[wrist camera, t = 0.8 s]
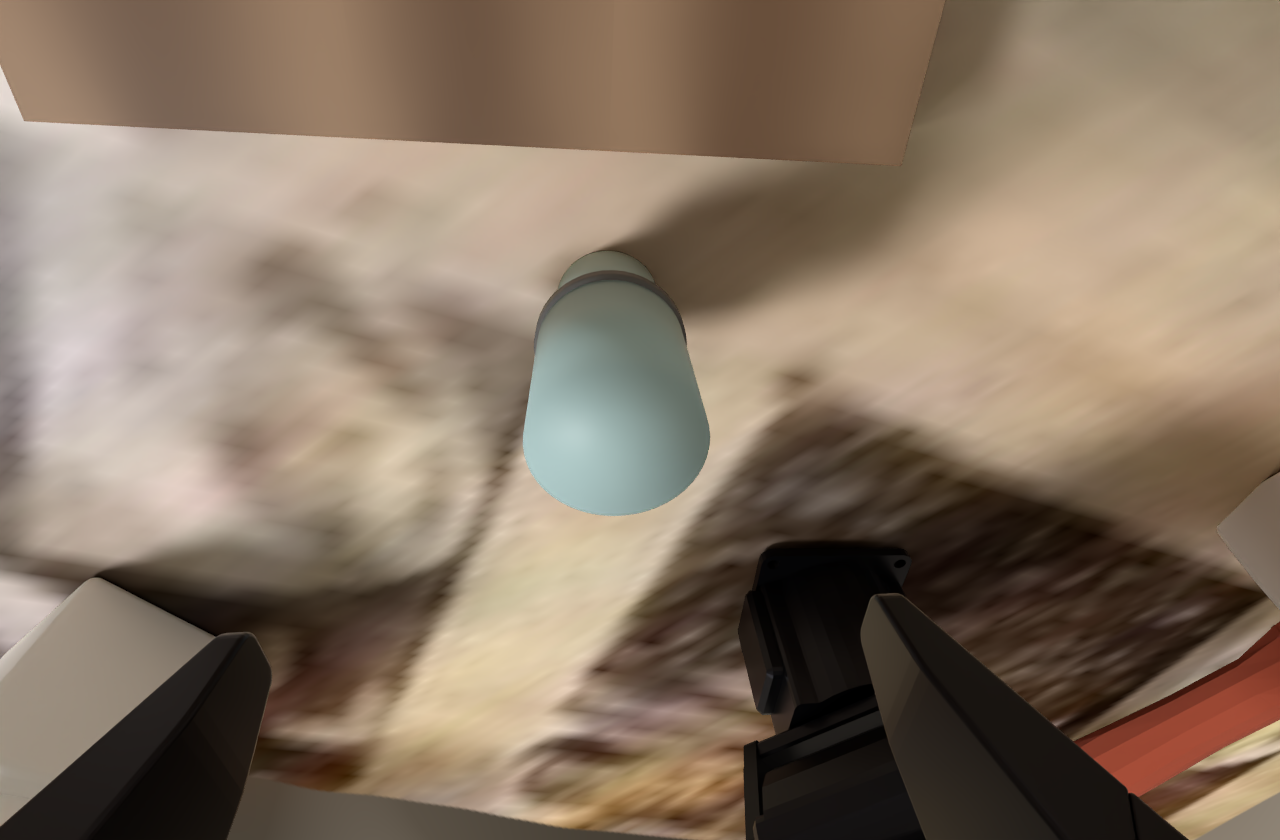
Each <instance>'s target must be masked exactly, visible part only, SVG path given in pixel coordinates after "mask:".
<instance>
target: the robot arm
mask: <svg viewBox="0 0 1280 840" xmlns="http://www.w3.org/2000/svg"><path fill="white" fill-rule="evenodd" d="M773 560H775V561H773ZM770 561H773V562H770ZM911 562H912V560H911V558H910V556H909V555H908V553H907V551H906V550H904V549H771V550H767V551H765V552H763V553H762V554H761V556H760V558H759V562H758V566H757V571H756V575H755V580H754V584H753V589H752V591H749V592H748V593H747V595H746V596H745V601H744V605H743V610H742V614H741V619H740V623H739V628H738V635H739V639H740V644H741V649H742V653H743V656H744V660H745V664H746V668H747V672H748V677H749V681H750V685H751V689H752V693H753V698H754V702H755V706H756V709H757V710H758V711H759V712H760V713H761V714H762V715H771V718H772V722H773V726H774V729H775V733H776V735H775V736H772V737H770V738H768V739H765V740H763V741H760V742H758V741H757V740H756V741H754V742H751V743H749V744H747V745H744V798H745V826H746V840H1188V839H1187V838H1186V837H1185V836H1183V835H1182V834H1181V833H1180V832H1179V831H1177V830H1176V829H1175V828H1174V827H1173V826H1171V825H1170V824H1169V823H1168V822H1167V821H1165V820H1164V819H1163V818H1162V817H1161V816H1160V815H1158V814H1157V813H1156V812H1155V811H1154V810H1153V809H1151V808H1150V807H1149V806H1148V805H1147V804H1146V803H1144V802H1143V801H1142V800H1141V799H1140V798H1139V797H1137V796H1136V795H1135V794H1134V793H1128V789H1127V788H1126V787H1125V786H1124V785H1123V784H1122V783H1121V782H1120V781H1118V780H1117V779H1116V778H1115V777H1114V776H1113V775H1112V774H1110V773H1109V772H1108V771H1107V770H1106V769H1105V768H1103V767H1102V766H1101V765H1100V764H1099V763H1098V762H1096V761H1095V760H1094V759H1093V758H1092V757H1091V756H1089V755H1088V754H1087V753H1086V752H1085V751H1084V750H1082V749H1081V748H1080V747H1079V746H1078V745H1077V744H1075V743H1074V742H1073V741H1072V740H1071V739H1070V738H1068V737H1067V736H1066V735H1065V734H1064V733H1063V732H1062V731H1060V730H1059V729H1058V728H1057V727H1056V726H1055V725H1053V724H1052V723H1051V722H1050V721H1049V720H1048V719H1046V718H1045V717H1044V716H1043V715H1042V714H1041V713H1039V712H1038V711H1037V710H1036V709H1035V708H1034V707H1032V706H1031V705H1030V704H1029V703H1028V702H1027V701H1025V700H1024V699H1023V698H1022V697H1021V696H1020V695H1018V694H1017V693H1016V692H1015V691H1014V690H1013V689H1011V688H1010V687H1009V686H1008V685H1007V684H1006V683H1005V682H1003V681H1002V680H1001V679H1000V678H999V677H998V676H996V675H995V674H994V673H993V672H992V671H991V670H989V669H988V668H987V667H986V666H985V665H984V664H982V663H981V662H980V661H979V660H978V659H977V658H975V657H974V656H973V655H972V654H971V653H970V652H968V651H967V650H966V649H965V648H964V647H963V646H961V645H960V644H959V643H958V642H957V641H956V640H955V639H953V638H952V637H951V636H950V635H949V634H948V633H946V632H945V631H944V630H943V629H942V628H941V627H939V626H938V625H937V624H936V623H935V622H934V621H932V620H931V619H930V618H929V617H928V616H927V615H925V614H924V613H923V612H922V611H921V610H920V609H918V608H917V607H916V606H915V605H914V604H913V603H911V602H910V601H909V600H908V598H907V597H906V595H905V593H904V591H903V589H902V585H903V583H904V580H905V578H906V575H907V573H908V570H909V568H910V566H911ZM271 682H272V669H271V665H270V663H269V661H268V659H267V657H266V655H265V653H264V651H263V649H262V648H261V646H260V644H259V642H258V640H257V638H256V636H255V635H254V634H252V633H250V632H236V633H225V634H221V635H219V636H217V637H215V638H214V639H213V640H211V641H210V642H209V643H208V644H207V645H206V646H205V647H204V648H202V649H201V650H200V651H199V652H198V653H197V654H196V655H194V656H193V657H192V658H191V659H190V660H189V661H188V662H186V663H185V664H184V665H183V666H182V667H181V668H180V669H179V670H177V671H176V672H175V673H174V674H173V675H172V676H171V677H169V678H168V679H167V680H166V681H165V682H164V683H163V684H161V685H160V686H159V687H158V688H157V689H156V690H155V691H154V692H152V693H151V694H150V695H149V696H148V697H147V698H146V699H144V700H143V701H142V702H141V703H140V704H139V705H138V706H136V707H135V708H134V709H133V710H132V711H131V712H130V713H129V714H127V715H126V716H125V717H124V718H123V719H122V720H121V721H119V722H118V723H117V724H116V725H115V726H114V727H113V728H111V729H110V730H109V731H108V732H107V733H106V734H105V735H104V736H102V737H101V738H100V739H99V740H98V741H97V742H96V743H94V744H93V745H92V746H91V747H90V748H89V749H88V750H86V751H85V752H84V753H83V754H82V755H81V756H80V757H79V758H77V759H76V760H75V761H74V762H73V763H72V764H71V765H69V766H68V767H67V768H66V769H65V770H64V771H63V772H61V773H60V774H59V775H58V776H57V777H56V778H55V779H54V780H52V781H51V782H50V783H49V784H48V785H47V786H46V787H44V788H43V789H42V790H41V791H40V792H39V793H38V794H36V795H35V796H34V797H33V798H32V799H31V800H30V801H29V802H27V803H26V804H25V805H24V806H23V807H22V808H21V809H19V810H18V811H17V812H16V813H15V814H14V815H13V816H11V817H10V818H9V819H8V820H7V821H6V822H5V823H4V824H2V825H1V826H0V840H227V838H228V835H229V832H230V829H231V827H232V824H233V821H234V818H235V816H236V813H237V810H238V807H239V804H240V801H241V798H242V795H243V792H244V789H245V785H246V781H247V778H248V774H249V770H250V766H251V762H252V758H253V754H254V750H255V746H256V742H257V738H258V734H259V730H260V726H261V722H262V718H263V714H264V710H265V706H266V702H267V698H268V694H269V690H270V686H271Z"/></svg>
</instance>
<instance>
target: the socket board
mask: <svg viewBox="0 0 1280 840" xmlns="http://www.w3.org/2000/svg"><path fill="white" fill-rule="evenodd" d="M944 4H945V0H0V65H1V68H2V70H3V72H4V75H5V77H6V79H7V82H8V84H9V86H10V89H11V91H12V93H13V96H14V98H15V101H16V103H17V105H18V108H19V110H20V112H21V115H22V117H23V119H24V121H32V122H52V123H71V124H91V125H110V126H130V127H149V128H169V129H188V130H208V131H228V132H247V133H267V134H286V135H306V136H325V137H345V138H364V139H384V140H404V141H423V142H443V143H462V144H482V145H501V146H521V147H540V148H560V149H580V150H599V151H619V152H638V153H658V154H677V155H697V156H716V157H736V158H756V159H775V160H795V161H814V162H834V163H853V164H873V165H892V166H901V165H902V161H903V157H904V154H905V150H906V146H907V142H908V139H909V135H910V131H911V127H912V124H913V120H914V116H915V112H916V109H917V105H918V101H919V98H920V94H921V90H922V86H923V83H924V79H925V75H926V71H927V68H928V64H929V60H930V56H931V53H932V49H933V45H934V41H935V38H936V34H937V30H938V27H939V23H940V19H941V15H942V12H943V8H944Z"/></svg>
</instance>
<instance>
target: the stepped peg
mask: <svg viewBox="0 0 1280 840" xmlns="http://www.w3.org/2000/svg"><path fill="white" fill-rule="evenodd" d="M534 352H535V359H534V366H533V373H532V379H531V386H530V393H529V400H528V406H527V413H526V420H525V426H524V433H523V448H524V455H525V459H526V462H527V465H528V467H529V469H530V471H531V473H532V475H533V476H534V478H535V479H536V481H537V482H538V483H539V484H540V485H541V487H542V488H543V489H544V490H545V491H546V492H548V493H549V494H550V495H551V496H552V497H554V498H555V499H557V500H558V501H560V502H562V503H564V504H566V505H567V506H569V507H572V508H574V509H577V510H580V511H583V512H587V513H591V514H597V515H606V516H621V515H631V514H637V513H641V512H645V511H648V510H651V509H654V508H656V507H659V506H661V505H663V504H665V503H667V502H669V501H670V500H672V499H673V498H675V497H677V496H678V495H679V494H680V493H682V492H683V491H684V490H685V489H686V488H687V487H688V486H689V485H690V484H691V483H692V482H693V481H694V479H695V478H696V477H697V475H698V474H699V472H700V471H701V469H702V467H703V465H704V463H705V460H706V458H707V454H708V450H709V444H710V431H709V424H708V420H707V416H706V413H705V409H704V406H703V403H702V399H701V396H700V392H699V389H698V385H697V382H696V378H695V375H694V371H693V368H692V364H691V361H690V357H689V354H688V350H687V341H686V333H685V329H684V325H683V322H682V318H681V316H680V313H679V311H678V309H677V307H676V305H675V304H674V302H673V301H672V299H671V298H670V297H669V296H668V294H667V293H666V292H665V291H664V290H662V289H661V288H660V287H659V286H658V285H656V284H655V282H654V279H653V277H652V275H651V274H650V272H649V271H648V270H647V268H646V267H645V266H644V265H643V264H642V263H641V262H639V261H638V260H636V259H635V258H633V257H631V256H629V255H627V254H624V253H621V252H616V251H599V252H594V253H591V254H588V255H586V256H583V257H582V258H580V259H578V260H577V261H576V262H574V263H573V264H572V265H571V266H570V267H569V268H568V269H567V271H566V272H565V274H564V275H563V277H562V279H561V281H560V284H559V287H558V290H557V291H556V292H555V293H554V294H553V295H552V296H551V297H550V298H549V300H548V301H547V303H546V304H545V306H544V308H543V309H542V311H541V313H540V316H539V319H538V322H537V327H536V332H535V339H534Z"/></svg>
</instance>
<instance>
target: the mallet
mask: <svg viewBox="0 0 1280 840" xmlns="http://www.w3.org/2000/svg"><path fill="white" fill-rule="evenodd" d="M1217 533H1218V534H1219V535H1220V537H1221V538H1222V540H1223V541H1224V542H1225V544H1226V545H1227V547H1228V548H1229V549H1230V551H1231V552H1232V553H1233V554H1234V556H1235V557H1236V558H1237V559H1238V561H1239V562H1240V563H1241V565H1242V566H1243V567H1244V568H1245V570H1246V571H1247V572H1248V573H1249V575H1250V576H1251V577H1252V578H1253V580H1254V581H1255V582H1256V583H1257V585H1258V586H1259V587H1260V588H1261V589H1262V590H1263V591H1264V593H1265V594H1266V595H1267V596H1268V597H1269V598H1270V600H1271V601H1272V602H1273V603H1274V604H1275V605H1276V606H1277V608H1278V609H1279V610H1280V472H1279V473H1277V474H1276V475H1274V476H1272V477H1270V478H1269V479H1267V480H1265V481H1263V482H1262V483H1261V484H1260V485H1259V486H1258V487H1257V488H1256V489H1255V490H1253V491H1252V492H1251V493H1250V494H1249V495H1248V496H1247V497H1246V498H1245V499H1244V500H1243V501H1242V502H1241V503H1240V504H1239V505H1238V506H1237V507H1236V508H1235V509H1234V510H1233V511H1232V512H1231V513H1230V514H1229V515H1228V516H1227V517H1226V518H1225V519H1224V520H1223V521H1222V522H1221V523H1220V524H1219V525H1218V526H1217ZM1278 720H1280V622H1279V623H1277V624H1276V625H1274V626H1272V627H1271V629H1270V630H1269V631H1268V632H1267V633H1266V634H1265V635H1264V636H1263V637H1262V638H1261V639H1259V640H1258V641H1257V642H1256V643H1255V644H1254V645H1253V646H1252V647H1251V648H1250V649H1249V650H1247V651H1246V652H1245V653H1244V654H1243V655H1242V656H1241V657H1240V658H1239V659H1237V660H1235V661H1233V662H1232V663H1230V664H1228V665H1226V666H1224V667H1222V668H1220V669H1218V670H1217V671H1215V672H1213V673H1211V674H1209V675H1207V676H1205V677H1203V678H1202V679H1200V680H1198V681H1196V682H1194V683H1192V684H1190V685H1188V686H1187V687H1185V688H1183V689H1181V690H1179V691H1177V692H1175V693H1173V694H1172V695H1170V696H1168V697H1166V698H1164V699H1161V700H1159V701H1157V702H1155V703H1153V704H1151V705H1149V706H1147V707H1145V708H1143V709H1141V710H1139V711H1137V712H1134V713H1132V714H1130V715H1128V716H1126V717H1124V718H1122V719H1120V720H1118V721H1116V722H1114V723H1112V724H1110V725H1107V726H1105V727H1103V728H1101V729H1099V730H1097V731H1095V732H1093V733H1091V734H1088V735H1086V736H1084V737H1082V738H1080V739H1078V740H1076V741H1074V743H1075V744H1077V745H1078V746H1079V747H1080V748H1081V749H1082V750H1084V751H1085V752H1086V753H1087V754H1088V755H1089V756H1091V757H1092V758H1093V759H1094V760H1095V761H1096V762H1098V763H1099V764H1100V765H1101V766H1102V767H1103V768H1105V769H1106V770H1107V771H1108V772H1109V773H1110V774H1112V775H1113V776H1114V777H1115V778H1116V779H1117V780H1118V781H1120V782H1121V783H1122V784H1123V785H1124V786H1125V787H1126V788H1127V789H1128V793H1134V794H1135V795H1136V796H1137V797H1139V796H1141V795H1143V794H1144V793H1146V792H1148V791H1150V790H1152V789H1153V788H1155V787H1157V786H1159V785H1160V784H1162V783H1164V782H1166V781H1167V780H1169V779H1171V778H1172V777H1174V776H1176V775H1177V774H1179V773H1181V772H1183V771H1184V770H1186V769H1188V768H1189V767H1191V766H1193V765H1195V764H1196V763H1198V762H1200V761H1201V760H1203V759H1205V758H1206V757H1208V756H1210V755H1212V754H1213V753H1215V752H1217V751H1218V750H1220V749H1222V748H1223V747H1225V746H1227V745H1229V744H1231V743H1233V742H1235V741H1238V740H1240V739H1242V738H1244V737H1246V736H1248V735H1250V734H1252V733H1254V732H1256V731H1258V730H1260V729H1262V728H1264V727H1266V726H1268V725H1270V724H1272V723H1274V722H1276V721H1278Z"/></svg>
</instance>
